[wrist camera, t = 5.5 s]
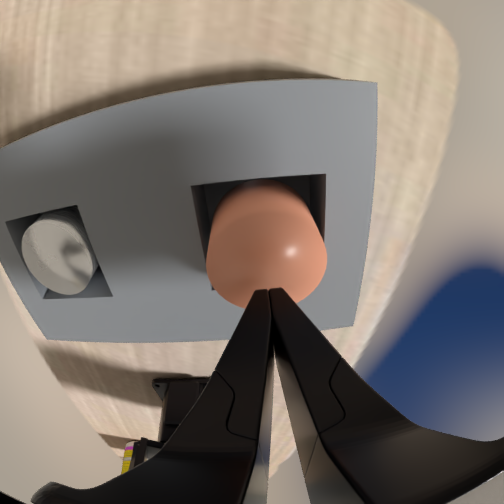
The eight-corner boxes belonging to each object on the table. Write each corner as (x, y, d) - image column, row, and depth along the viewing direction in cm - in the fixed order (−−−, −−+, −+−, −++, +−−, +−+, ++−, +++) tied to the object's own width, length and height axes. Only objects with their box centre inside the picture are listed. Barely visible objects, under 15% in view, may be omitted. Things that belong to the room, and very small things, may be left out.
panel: (335, 279, 19) (352, 325, 15) (67, 299, 19) (47, 339, 16) (342, 79, 12) (377, 82, 9) (6, 144, 12) (-36, 168, 9)
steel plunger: (120, 258, 16) (102, 293, 13) (64, 263, 16) (42, 295, 13) (97, 189, 13) (70, 216, 11) (39, 202, 13) (10, 229, 11)
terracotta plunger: (309, 260, 14) (323, 304, 11) (220, 269, 14) (216, 315, 12) (310, 175, 12) (329, 206, 9) (205, 184, 12) (195, 219, 9)
